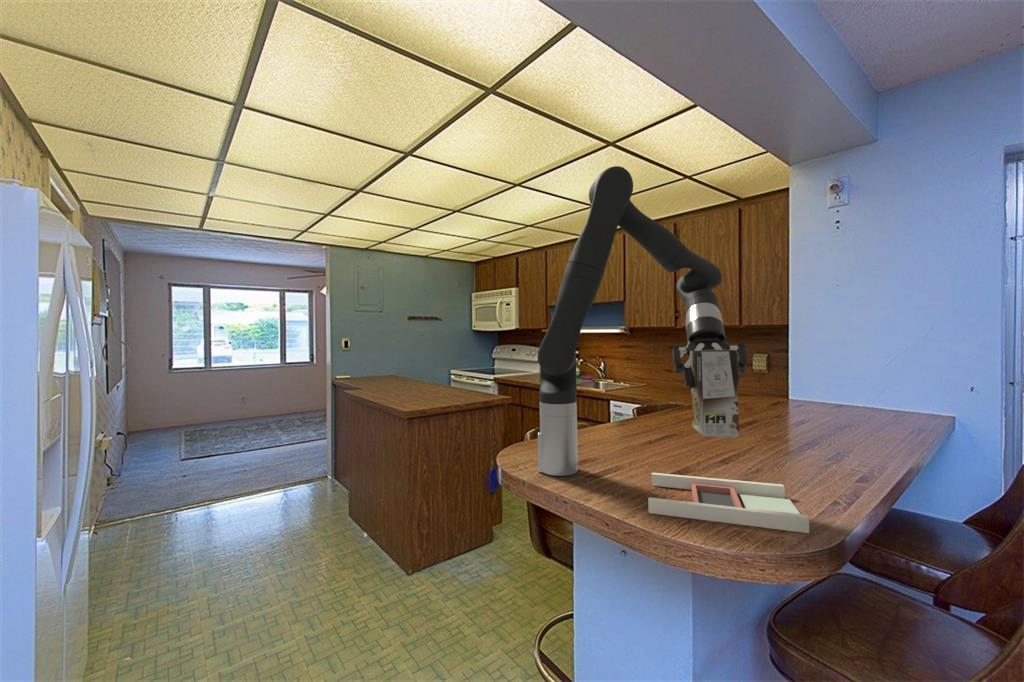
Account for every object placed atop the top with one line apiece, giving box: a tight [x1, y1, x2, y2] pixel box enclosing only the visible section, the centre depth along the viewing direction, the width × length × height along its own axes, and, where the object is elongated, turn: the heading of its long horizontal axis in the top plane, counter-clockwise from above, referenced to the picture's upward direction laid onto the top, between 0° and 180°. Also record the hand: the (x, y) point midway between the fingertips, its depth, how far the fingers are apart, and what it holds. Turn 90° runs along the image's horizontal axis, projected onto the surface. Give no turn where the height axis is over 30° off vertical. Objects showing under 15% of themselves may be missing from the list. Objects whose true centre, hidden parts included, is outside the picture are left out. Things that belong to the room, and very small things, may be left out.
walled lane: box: [647, 472, 810, 534], centre depth 79 cm, size 25×16×2 cm, turn 69°
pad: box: [739, 494, 801, 514], centre depth 76 cm, size 9×12×1 cm
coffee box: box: [689, 349, 740, 438], centre depth 79 cm, size 9×6×16 cm
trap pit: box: [691, 483, 743, 508], centre depth 79 cm, size 8×13×2 cm, turn 159°
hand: (712, 386), depth 80 cm, fingers closed on coffee box, 7 cm apart
